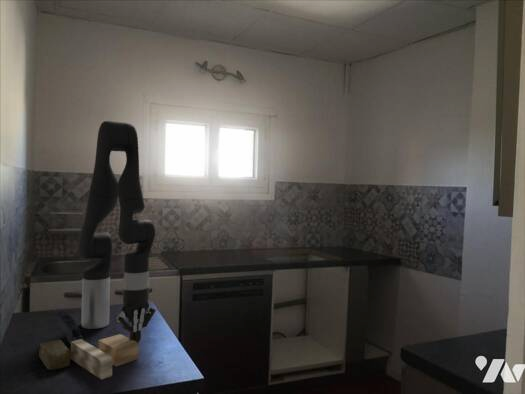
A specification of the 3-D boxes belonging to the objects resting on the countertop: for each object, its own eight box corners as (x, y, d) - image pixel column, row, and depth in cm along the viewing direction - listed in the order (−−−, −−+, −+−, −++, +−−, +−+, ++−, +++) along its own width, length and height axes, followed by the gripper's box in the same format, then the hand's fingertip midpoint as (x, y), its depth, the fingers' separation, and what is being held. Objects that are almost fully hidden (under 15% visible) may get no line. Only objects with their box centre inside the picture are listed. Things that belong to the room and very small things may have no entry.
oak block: (98, 356, 120) (98, 340, 120) (119, 350, 125) (120, 333, 125) (116, 367, 114) (116, 349, 114) (138, 359, 119) (138, 342, 119)
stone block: (48, 373, 109) (48, 354, 109) (38, 359, 117) (38, 341, 117) (71, 367, 113) (71, 349, 113) (59, 354, 121) (59, 337, 121)
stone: (93, 344, 128) (93, 313, 128) (77, 351, 123) (77, 319, 122) (62, 337, 134) (62, 307, 133) (45, 343, 128) (45, 312, 128)
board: (70, 358, 118) (70, 341, 117) (80, 355, 120) (81, 339, 120) (101, 379, 106) (101, 360, 106) (112, 375, 108) (112, 357, 108)
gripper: (147, 280, 130) (146, 334, 130) (109, 287, 120) (108, 345, 120) (162, 284, 125) (160, 340, 126) (123, 292, 115) (122, 352, 115)
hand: (135, 342), depth 123 cm, fingers closed
